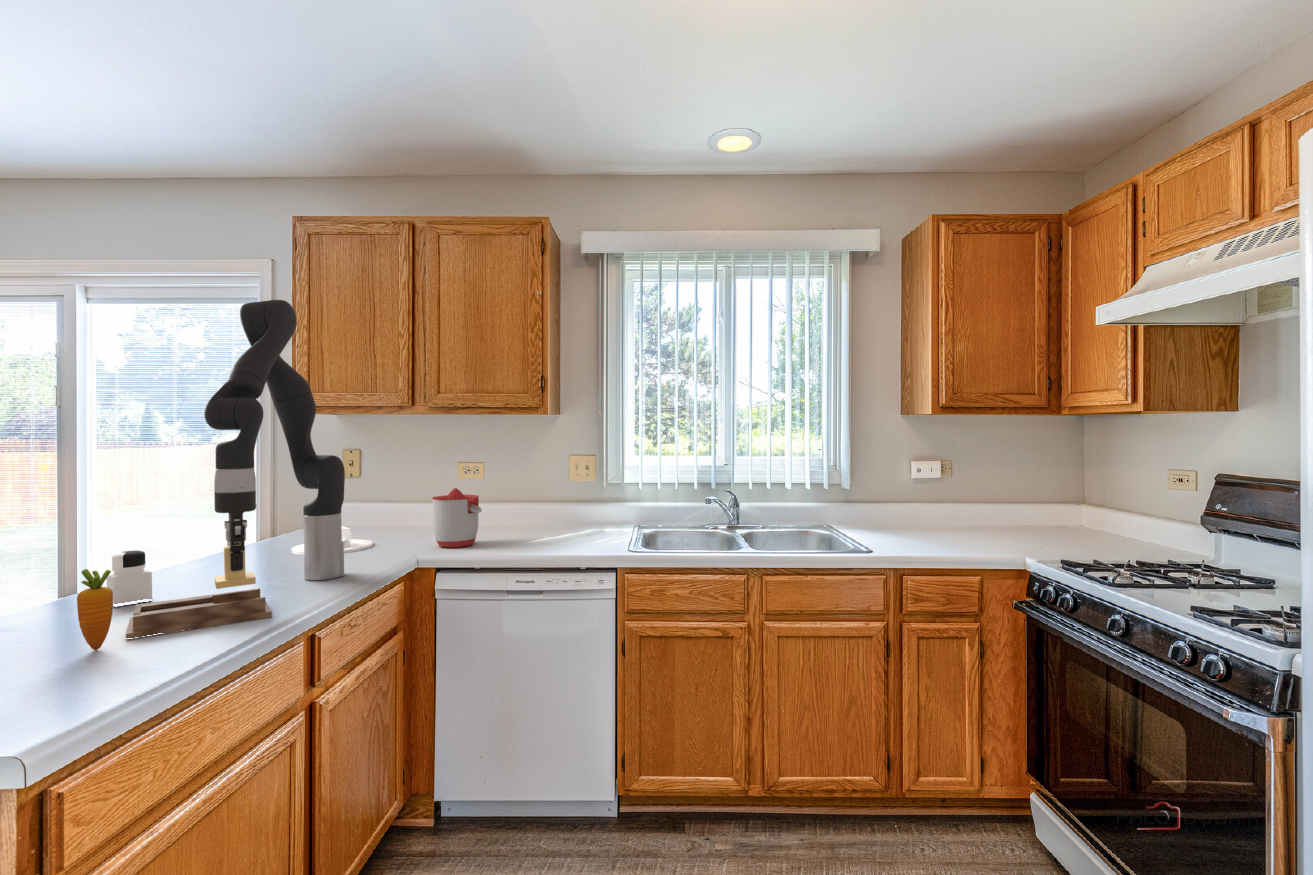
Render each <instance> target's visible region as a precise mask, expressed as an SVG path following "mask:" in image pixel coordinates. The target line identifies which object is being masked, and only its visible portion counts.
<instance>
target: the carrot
mask: <svg viewBox="0 0 1313 875" xmlns="http://www.w3.org/2000/svg"><path fill="white" fill-rule="evenodd" d="M111 572H112V570H110V569H106V570H105V571H104V573H102V575H100V574H99V572H98V571H97V570H93V571H91V572H90V570H89V569H87V568H86V569H85V568H84V569H83V570H81V572H80V573H81V574H82V576H83V578H85V580H82V581H80V583H81V584H83V585H84V586H87V587H88V588H85V589H84V590H81V592H79V593H78V594H77V596H76V606H77V607H76V608H77V617H78V618H77V619H78V624H79V627H80V629H81V633H82V636H83V639H84V640H85V642H86V643H87V644H88V645H89V647H90V648H91V649H92V650H94V651H95V650H97V649H98V650H99V649H101V647H102V645H103V643H104V642H105V641H106V638H107V636H108V634H109V631H110V627H111V622H112V617H113V609H114V607H113V591H112V589H110V588H107V586H103V585H104V583H105V581H106V578H107V577H108V575H109V574H110V573H111ZM91 573H92V574H91ZM98 650H97V651H98Z"/></svg>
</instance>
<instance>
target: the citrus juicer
mask: <svg viewBox="0 0 1313 875" xmlns="http://www.w3.org/2000/svg"><path fill="white" fill-rule="evenodd" d="M431 500H432V526H433V532H434V536H435V541H436V543H437V545H438V547H440V548H455V549H461V548H462V547H469V546H472V545H474V543H475V542H476V538H477V534H478V529H479V513H480V514H481V513H482V507H481V506H479V504H480V503H479V495H477V494H463V493H462V491H461V490H460V489H458V488H457V487H455V488H452V490H450V492H449V493H448V495H446V494H445V495H437V496H432V497H431Z"/></svg>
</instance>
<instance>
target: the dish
mask: <svg viewBox="0 0 1313 875" xmlns="http://www.w3.org/2000/svg"><path fill="white" fill-rule="evenodd" d="M351 529H352V528H349V527H347V526H344V525H342V541H343V542H344V554H345V553H346V554H347V553H353V552H354V553H355V552H359V551H364V550H367V549H370V548H372V547H373V546H374V542H373V541H372V540H369V539H368V540H367V539H358V538H357V539H354V538H352V534H351V533H352V531H351ZM291 552H292V554H294V555H297V556H302V555H303V556H304V543H303V544H298V545H295V546H293V547H291Z"/></svg>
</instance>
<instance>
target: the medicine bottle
mask: <svg viewBox="0 0 1313 875" xmlns="http://www.w3.org/2000/svg"><path fill="white" fill-rule="evenodd" d="M105 581H106V582H105V583H106V587H107V588H110V589H112V591H113V604H118V603H125V602H131V601H137V600H143V599H152V600H153V572H152V571H150V570H148V569H146V553H145V552H144V551H143V550H137V549H136V550H127V551H126V550H125V551H119V552H117V553H114V554H113V555H112V556H111V573H110V574H109V575H108V577H107V578H106V580H105Z"/></svg>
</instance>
